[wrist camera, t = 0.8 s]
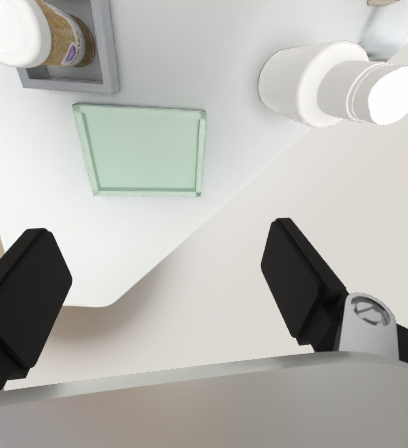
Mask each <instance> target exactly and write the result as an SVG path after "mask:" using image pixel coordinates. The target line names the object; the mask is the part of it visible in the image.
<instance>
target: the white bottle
mask: <svg viewBox="0 0 408 448" xmlns="http://www.w3.org/2000/svg"><path fill="white" fill-rule="evenodd" d="M258 89H259V95H260V98H261V101H262V102H263V103H264V105H265V106H266V107H268V108H269V109H271V110H273V111H275V112H278V113H280V114H282V115H285V116H287V117H289V118H292V119H294V120H296V121H299V122H301V123H303V124H306V125H308V126H310V127H317V128H324V127H329V126H333V125H335V124H336V123H338V122H340V121H342V120H343V119H348V120H351V121H354V122H371V123H374V124H379V125H386V124H391V123H393V122H395V121H397V120H399V119H400V118H401V117H403V116H404V115H405V114H406V113H407V112H408V65H407V66H406V65H405V66H404V65H401V66H400V65H392V64H391V63H388V62H383V61H379V62H369V59H368V57H367V55H366V52H365V50H364V49H362V48H361V47H360V46H359V45H358V44H357V43H354V42H349V41H345V40H343V41H336V42H330V43H323V44H316V45H309V46H302V47H296V48H289V49H284V50H280V51H279V52H277V53H276V54H274V55H272V57H271V58H270V59H269V60H268V61H267V62H266V63H265V65H264V67H263V69H262V71H261V74H260V78H259V82H258Z"/></svg>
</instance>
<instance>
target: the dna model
mask: <svg viewBox="0 0 408 448" xmlns="http://www.w3.org/2000/svg"><path fill="white" fill-rule="evenodd" d="M396 1H399V0H369V1H368V5H389V4H391V3H394V2H396Z"/></svg>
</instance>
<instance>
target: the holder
mask: <svg viewBox="0 0 408 448" xmlns="http://www.w3.org/2000/svg"><path fill="white" fill-rule="evenodd" d="M90 4H91V10H92V16H93V23H94V29H95V35H96V42H97V48H98V55H99V61H100V67H101V74H102V80H103V81H93V80H80V79H67V78H54V77H49V76H48V72H47V68H46V65H38V66H36V67H31V68H19V67H17V70H18V73H19V76H20V79H21V82H22V85H23V88H35V89H49V90H64V91H78V92H92V93H106V94H113V93H115V92H117V91H119V90H120V86H119V77H118V69H117V61H116V53H115V45H114V36H113V28H112V20H111V12H110V4H109V0H90Z"/></svg>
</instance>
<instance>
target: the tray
mask: <svg viewBox="0 0 408 448" xmlns="http://www.w3.org/2000/svg"><path fill="white" fill-rule="evenodd" d="M72 106H73V110H74V114H75V119H76V123H77V127H78V131H79V136H80V140H81V144H82V148H83V153H84V157H85V161H86V165H87V170H88V174H89V178H90V183H91V187H92V191H93V195H94V196H201V183H202V170H203V156H204V142H205V129H206V115H207V113H206V112H205V111H198V110H182V109H167V108H151V107H135V106H119V105H103V104H87V103H76V104H73V105H72Z"/></svg>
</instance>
